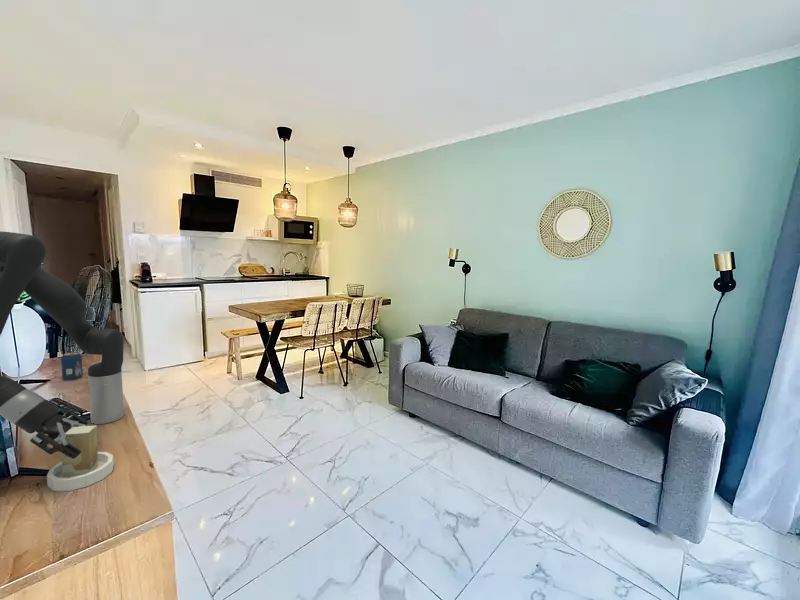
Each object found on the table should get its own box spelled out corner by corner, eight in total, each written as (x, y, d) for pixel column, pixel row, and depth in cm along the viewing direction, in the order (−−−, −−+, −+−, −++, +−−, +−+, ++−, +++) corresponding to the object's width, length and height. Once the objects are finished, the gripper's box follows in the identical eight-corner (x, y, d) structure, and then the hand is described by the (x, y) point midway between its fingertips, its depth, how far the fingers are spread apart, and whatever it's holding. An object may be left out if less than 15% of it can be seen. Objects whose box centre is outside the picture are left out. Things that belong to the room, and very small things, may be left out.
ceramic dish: (39, 480, 93) (38, 470, 92) (98, 456, 104) (98, 447, 104) (62, 497, 87) (61, 486, 87) (122, 470, 99) (122, 460, 98)
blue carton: (66, 376, 165) (64, 352, 164) (85, 375, 168) (83, 351, 167) (59, 381, 159) (57, 356, 158) (79, 380, 162) (77, 355, 161)
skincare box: (62, 478, 93) (58, 434, 91) (71, 468, 97) (68, 426, 95) (91, 474, 95) (88, 432, 93) (99, 465, 99) (97, 424, 97)
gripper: (22, 411, 84) (84, 450, 89) (58, 389, 97) (110, 424, 102) (-5, 435, 83) (59, 473, 88) (35, 409, 96) (88, 444, 101)
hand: (86, 447), depth 95 cm, fingers open, 8 cm apart
